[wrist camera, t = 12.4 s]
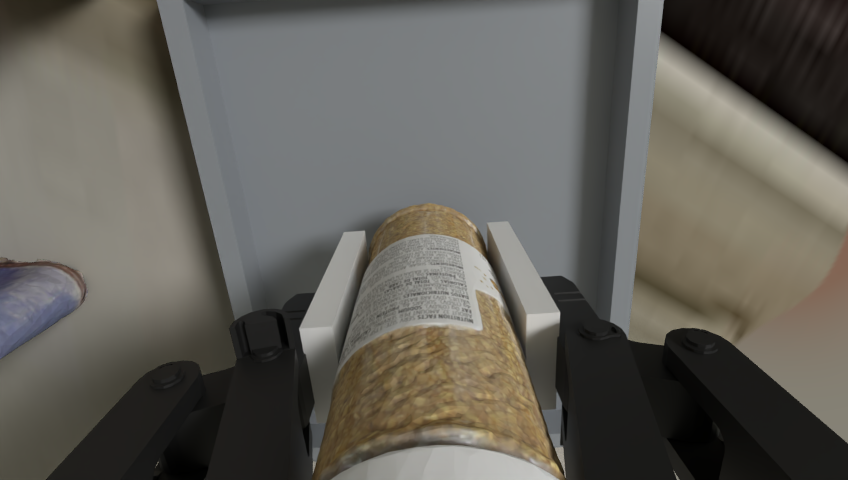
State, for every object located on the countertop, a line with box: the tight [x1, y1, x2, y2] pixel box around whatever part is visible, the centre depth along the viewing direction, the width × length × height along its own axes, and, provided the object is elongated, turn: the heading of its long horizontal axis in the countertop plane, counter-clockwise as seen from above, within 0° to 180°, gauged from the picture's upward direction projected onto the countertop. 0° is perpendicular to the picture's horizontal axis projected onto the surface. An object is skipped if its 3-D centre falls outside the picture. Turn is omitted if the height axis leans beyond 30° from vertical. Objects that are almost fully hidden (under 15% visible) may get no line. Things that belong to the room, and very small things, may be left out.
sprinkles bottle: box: [311, 203, 567, 480], centre depth 11 cm, size 5×5×13 cm
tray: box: [157, 0, 664, 461], centre depth 19 cm, size 16×20×2 cm
